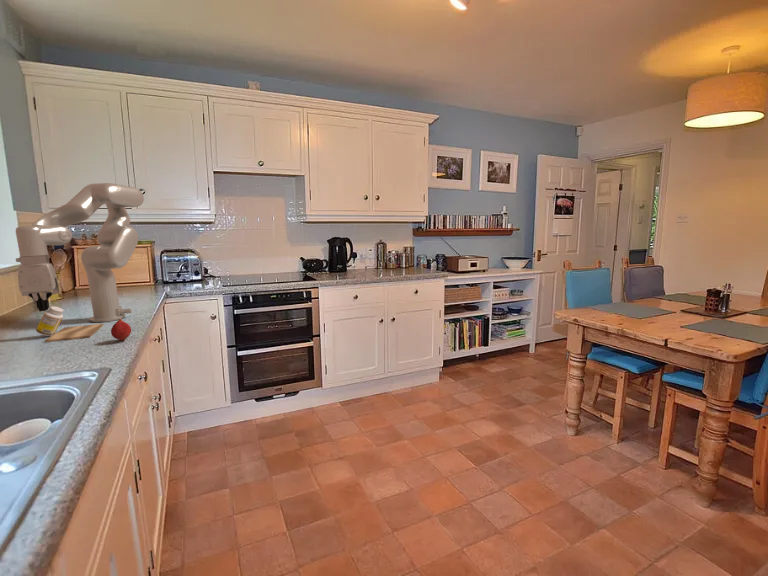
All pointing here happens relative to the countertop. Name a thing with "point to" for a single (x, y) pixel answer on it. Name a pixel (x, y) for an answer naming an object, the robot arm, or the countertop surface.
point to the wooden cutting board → (75, 332)
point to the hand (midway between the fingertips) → (43, 310)
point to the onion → (120, 330)
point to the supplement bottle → (50, 321)
